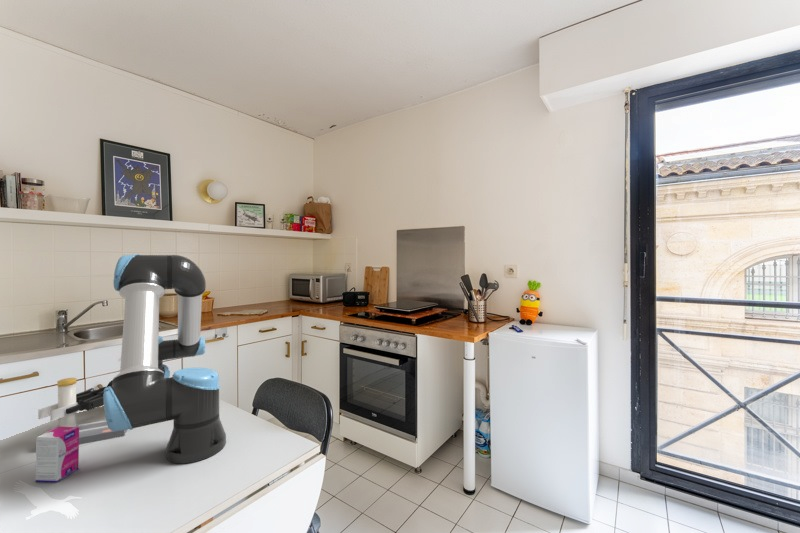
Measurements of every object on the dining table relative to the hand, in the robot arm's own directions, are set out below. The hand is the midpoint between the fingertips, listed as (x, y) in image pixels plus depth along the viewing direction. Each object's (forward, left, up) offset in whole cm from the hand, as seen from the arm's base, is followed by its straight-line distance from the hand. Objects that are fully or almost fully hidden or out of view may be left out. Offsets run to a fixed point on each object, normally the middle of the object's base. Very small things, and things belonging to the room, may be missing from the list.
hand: (45, 415), depth 99 cm
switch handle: (+4, -3, -8) cm, 9 cm away
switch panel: (+4, -8, -10) cm, 14 cm away
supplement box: (-18, -8, -10) cm, 22 cm away
